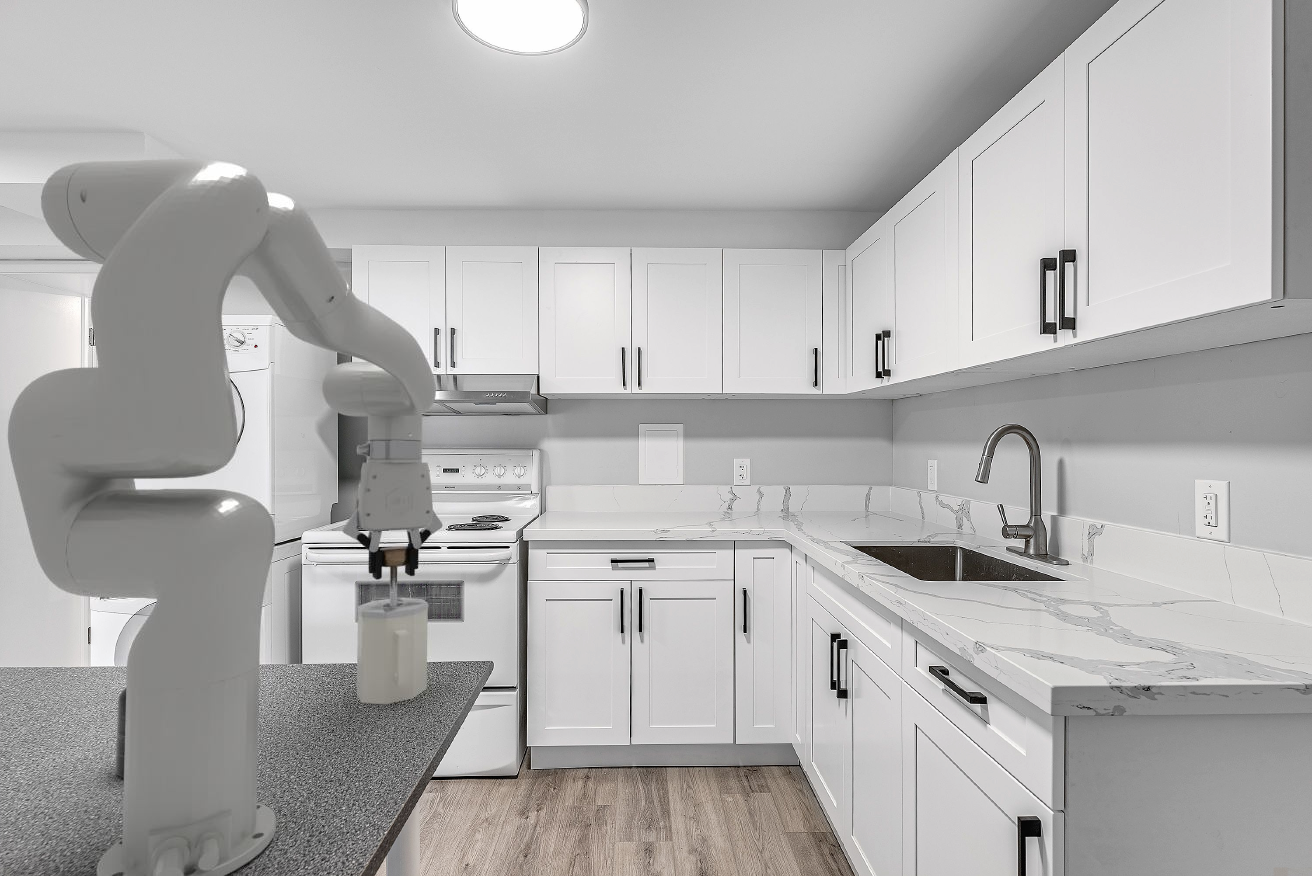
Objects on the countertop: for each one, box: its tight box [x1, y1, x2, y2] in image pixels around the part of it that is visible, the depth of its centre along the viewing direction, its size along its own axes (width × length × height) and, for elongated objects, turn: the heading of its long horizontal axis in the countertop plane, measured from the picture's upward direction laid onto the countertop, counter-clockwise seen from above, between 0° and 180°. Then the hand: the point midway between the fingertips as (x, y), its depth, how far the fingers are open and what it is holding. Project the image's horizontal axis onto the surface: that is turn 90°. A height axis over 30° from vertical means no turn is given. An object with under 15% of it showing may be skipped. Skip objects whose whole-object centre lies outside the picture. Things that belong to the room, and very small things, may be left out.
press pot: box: [356, 597, 429, 705], centre depth 93 cm, size 12×9×13 cm
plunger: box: [380, 546, 408, 607], centre depth 95 cm, size 4×4×17 cm
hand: (393, 574), depth 95 cm, fingers closed on plunger, 4 cm apart
